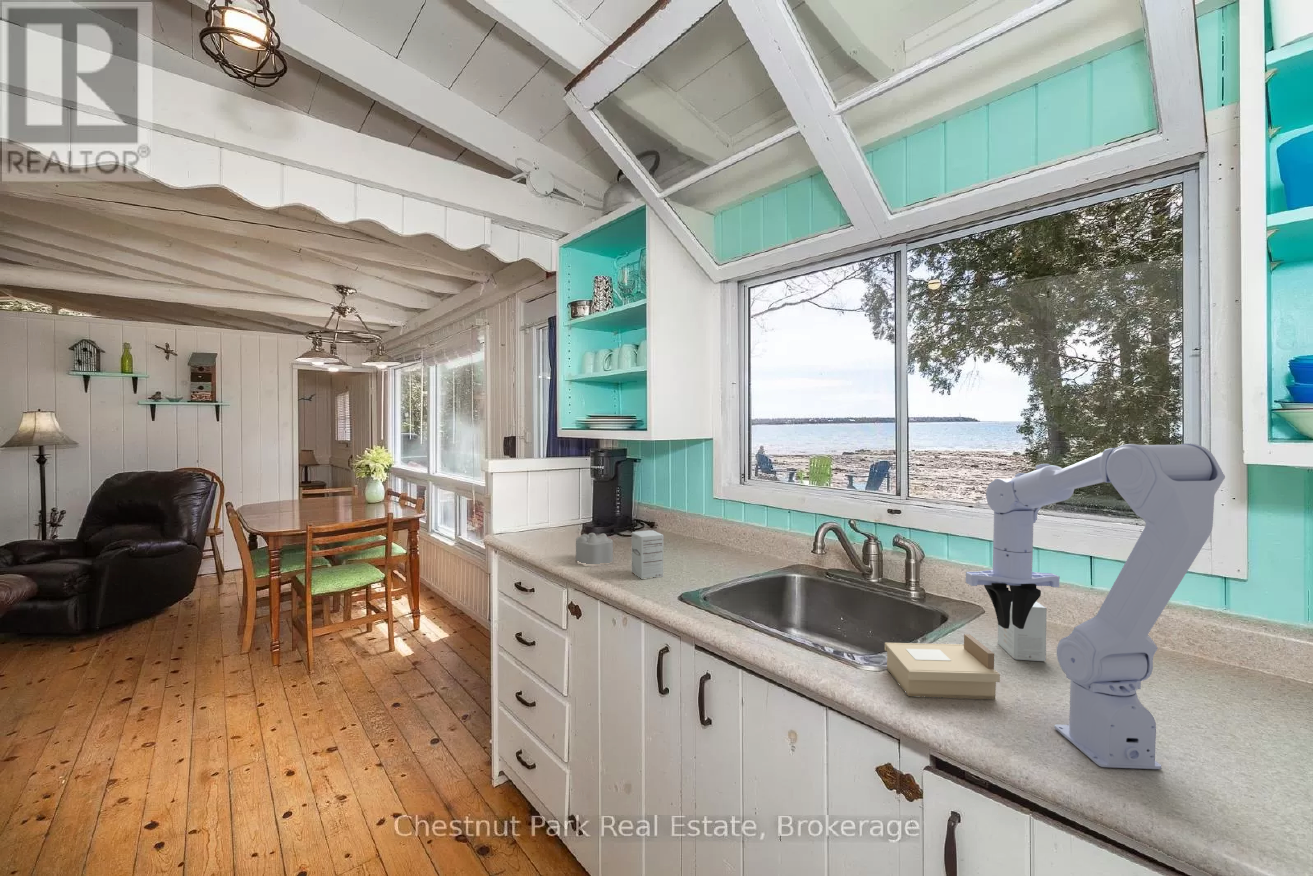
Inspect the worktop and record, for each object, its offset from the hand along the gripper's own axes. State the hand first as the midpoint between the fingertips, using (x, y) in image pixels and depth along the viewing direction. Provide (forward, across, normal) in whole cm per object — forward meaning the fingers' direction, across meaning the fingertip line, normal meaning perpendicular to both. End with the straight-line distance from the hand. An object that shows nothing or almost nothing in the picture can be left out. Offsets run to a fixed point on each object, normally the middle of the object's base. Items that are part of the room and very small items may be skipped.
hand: (1010, 626), depth 95 cm
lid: (+7, +12, 0) cm, 14 cm away
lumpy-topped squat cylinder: (+11, +87, -77) cm, 117 cm away
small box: (+11, -10, -14) cm, 20 cm away
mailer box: (+10, +12, 0) cm, 16 cm away
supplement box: (+11, +68, -62) cm, 93 cm away
